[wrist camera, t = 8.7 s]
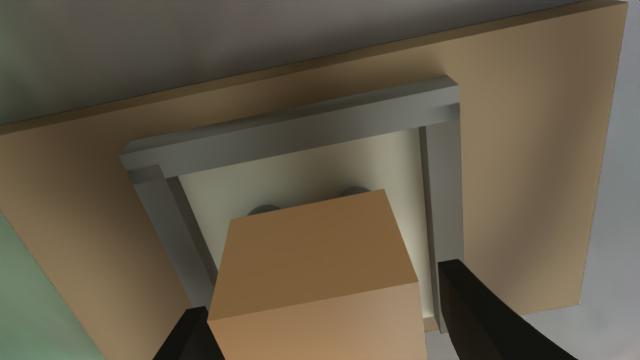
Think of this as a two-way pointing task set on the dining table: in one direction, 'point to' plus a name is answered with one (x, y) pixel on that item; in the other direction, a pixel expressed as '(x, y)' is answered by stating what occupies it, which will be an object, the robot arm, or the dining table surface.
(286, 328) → the toy cart
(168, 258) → the dock
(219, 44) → the dining table surface
